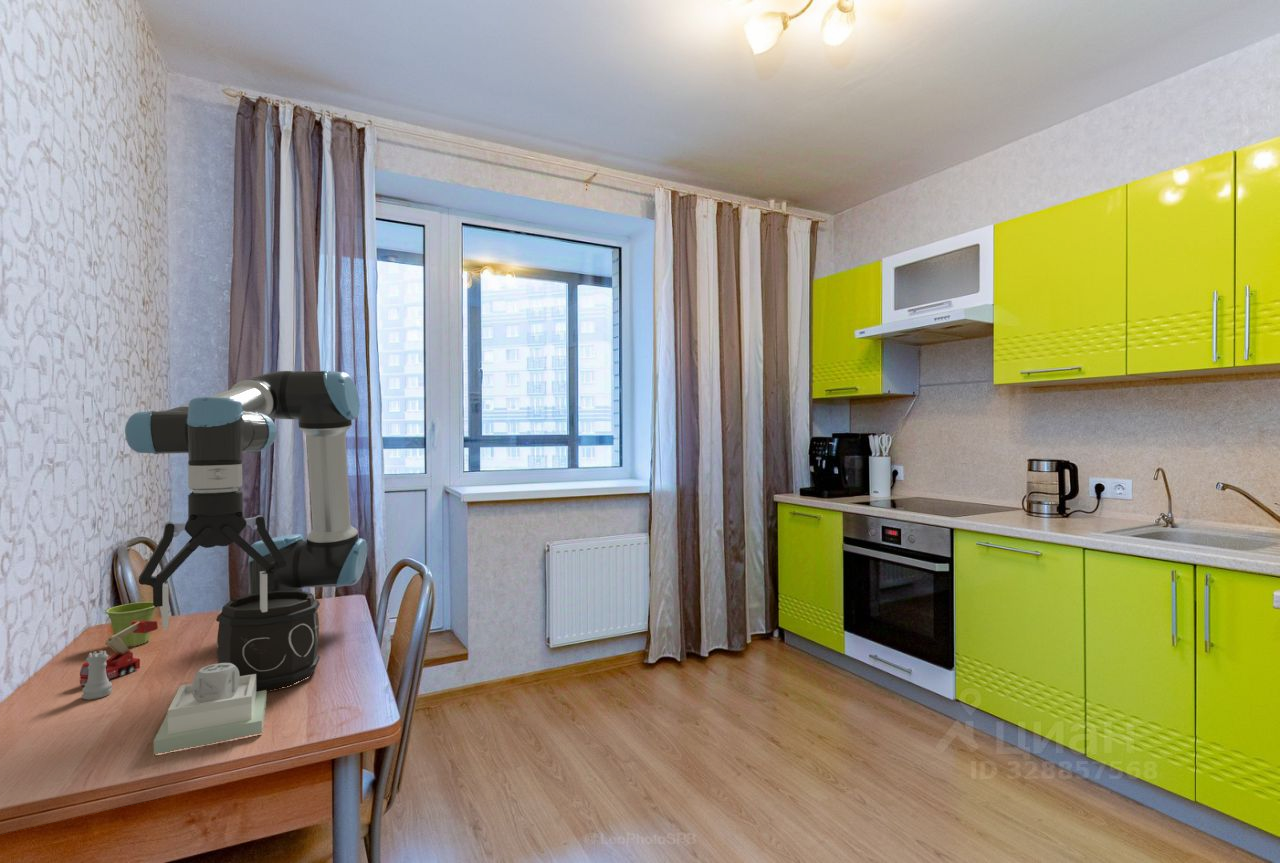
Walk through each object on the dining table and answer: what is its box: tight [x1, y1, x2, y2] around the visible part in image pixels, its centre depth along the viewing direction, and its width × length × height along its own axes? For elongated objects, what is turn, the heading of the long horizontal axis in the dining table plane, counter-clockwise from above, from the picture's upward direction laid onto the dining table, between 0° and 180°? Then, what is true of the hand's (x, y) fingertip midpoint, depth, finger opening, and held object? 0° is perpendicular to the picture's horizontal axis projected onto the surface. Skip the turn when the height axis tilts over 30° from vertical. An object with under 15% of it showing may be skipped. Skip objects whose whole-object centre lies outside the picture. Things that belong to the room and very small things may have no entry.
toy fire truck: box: [79, 620, 158, 687], centre depth 128 cm, size 3×14×10 cm, turn 168°
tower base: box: [153, 674, 268, 755], centre depth 105 cm, size 14×14×7 cm
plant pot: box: [105, 601, 156, 648], centre depth 148 cm, size 9×9×9 cm
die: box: [191, 662, 240, 703], centre depth 105 cm, size 5×5×5 cm
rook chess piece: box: [81, 650, 113, 701], centre depth 118 cm, size 4×4×8 cm
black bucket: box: [215, 590, 321, 692], centre depth 126 cm, size 18×18×16 cm
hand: (216, 618), depth 105 cm, fingers open, 13 cm apart
